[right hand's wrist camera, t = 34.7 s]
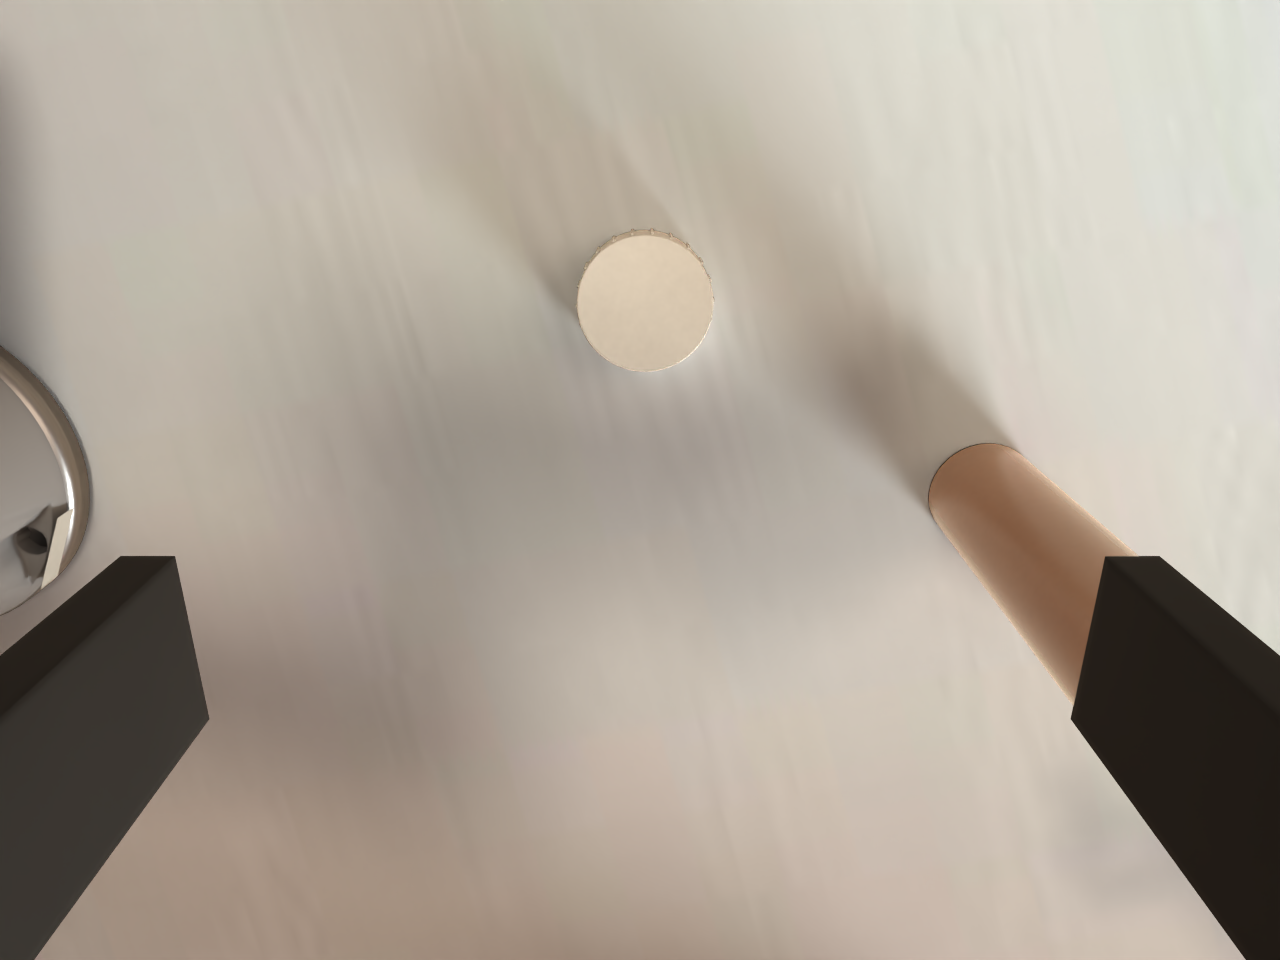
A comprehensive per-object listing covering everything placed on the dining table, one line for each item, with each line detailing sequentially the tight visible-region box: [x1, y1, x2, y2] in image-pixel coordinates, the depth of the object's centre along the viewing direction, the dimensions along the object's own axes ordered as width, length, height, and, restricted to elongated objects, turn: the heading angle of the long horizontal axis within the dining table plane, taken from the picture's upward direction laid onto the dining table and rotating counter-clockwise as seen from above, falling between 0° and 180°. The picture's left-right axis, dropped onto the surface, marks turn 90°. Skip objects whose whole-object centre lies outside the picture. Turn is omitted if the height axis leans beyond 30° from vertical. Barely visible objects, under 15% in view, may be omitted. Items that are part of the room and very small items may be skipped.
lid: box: [576, 228, 714, 372], centre depth 38 cm, size 6×6×2 cm
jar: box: [929, 444, 1138, 706], centre depth 34 cm, size 5×5×18 cm
